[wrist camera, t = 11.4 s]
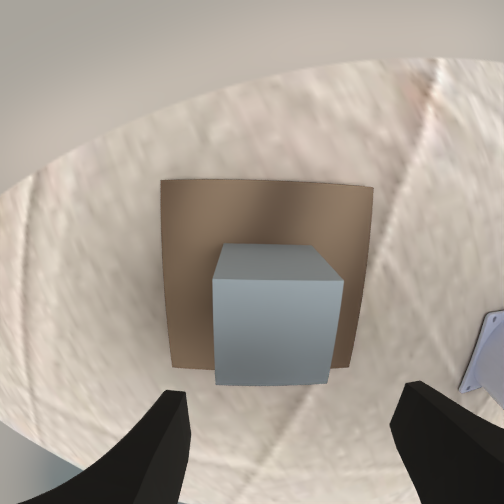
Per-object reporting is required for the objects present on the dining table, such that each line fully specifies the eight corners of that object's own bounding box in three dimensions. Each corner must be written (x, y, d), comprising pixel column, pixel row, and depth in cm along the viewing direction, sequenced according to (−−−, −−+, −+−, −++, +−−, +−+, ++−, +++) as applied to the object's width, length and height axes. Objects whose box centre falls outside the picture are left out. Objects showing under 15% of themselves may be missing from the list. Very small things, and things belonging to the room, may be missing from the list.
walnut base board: (365, 186, 16) (373, 187, 15) (343, 357, 19) (348, 367, 17) (166, 179, 16) (160, 180, 15) (175, 356, 18) (172, 367, 17)
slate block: (311, 245, 16) (343, 280, 10) (304, 323, 17) (327, 383, 11) (223, 243, 15) (212, 279, 10) (223, 323, 16) (215, 384, 11)
